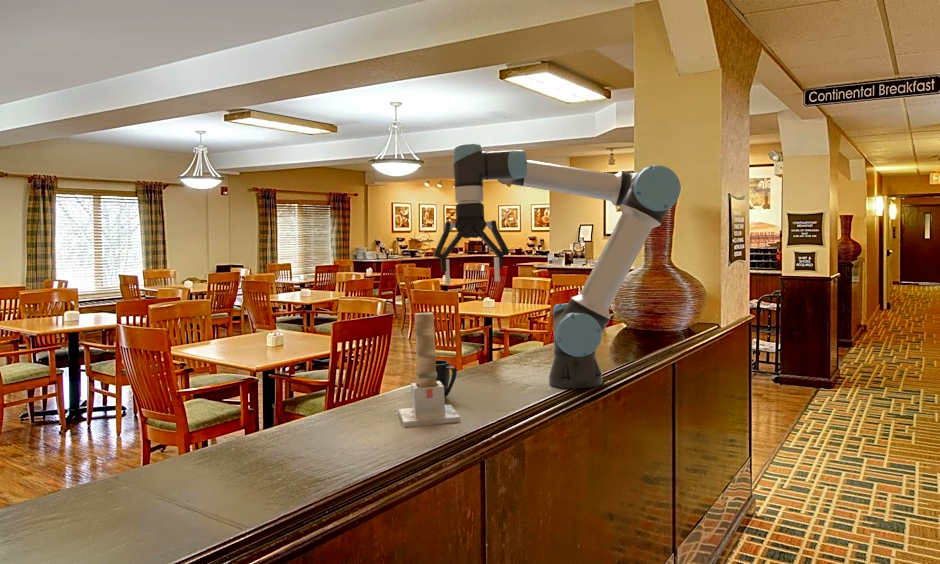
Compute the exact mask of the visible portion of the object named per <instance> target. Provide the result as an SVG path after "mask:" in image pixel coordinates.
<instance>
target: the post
mask: <svg viewBox="0 0 940 564" xmlns="http://www.w3.org/2000/svg"><path fill="white" fill-rule="evenodd" d="M434 316H435V314H434V313H433V312H415V313H414V328H415V330H414V331H415V349H416V351H415V352H416V354H415V355H416V356H415V357H416V371H415V373H416V377H417V382H418V387H430V386H437V381H436V377H437V372H436V360H437V359H436V343H435V342H436V339H435V338H436V337H435V317H434Z"/></svg>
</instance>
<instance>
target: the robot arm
mask: <svg viewBox="0 0 940 564" xmlns="http://www.w3.org/2000/svg"><path fill="white" fill-rule="evenodd" d="M453 174H454V191H455V192H454V195H455V196H454V197H455V202H456V203H457V204H456V205H455V218H456V219H455V222H450V221H446V222H445V223H444V229H443V232H442V235H441V237H440V239H439V240H438V243H437V246H436V248H435V250H434V253H433V256H434V257H435V258H436V259H440V270H441V272H444V276H445V278H444V279H445V284H446V285H451V278H450V277H451V275H450V273H451V272H450V258H449V259H447V258H448V256H449V255H450V254H451V252H452V251H453V250H454V248H455V247H456V246H457V245H458V244H459V242H460V241H461V239H462V238H463V239H470V238H471V239H477V238H480V239H481V241H483V243H484V244H485V245H487V247H488V248H489V249H490V250H491V251H492V252H493V253H494V255H496V256H494V257H493V267H494V268H493V269H494V271H493V272H494V281H495V282H501V278H500V277H501V275H500V273H501V271H500V269H501V270H502V269H503V267H504V262H503V261H504V260H503V259H504V258H503V257H504V256H506V255H509V254H510V250H509V247H508V246H507V244H506V242H505V241H504V239H503V237H502V235H501V233H500V231H499V230H498V225H497V221H496V220H490V221H486V220H485V205H484V204H483V201H484V183H483V182H484V181H493V180H496V181H497V182H498V183H500V184H502V185H505V186H510V185H512V186H519V187H526V188H532V189H537V190H543V191H549V192H555V193H561V194H568V195H572V196H573V195H574V196H580V197H586V198H590V199H591V198H592V199H596V200H602V201H609V202H611V203H612V205H613V206H616V207H620V211H621V215H620V217H619V219H618V221H617V223H616V225H615V227H614V228H613V230H612V233H611V234H610V236H609V237H608V239H607V242H606V244H605V246H603V249H602V251H601V253H600V255H599V257H598V258H597V260H596V262H595V264H594V266H593V268H592V270H591V272H590V274H589V276H588V277H587V279H586V281H585V283H584V285H583V286H582V289H581V291H580V292H579V293H578V294H577V295H574V296H571V297H570V299H569V301H568V302H567V303H557V304H555V305H554V306H553V307H552V318H553V319H552V320H553V321H552V322H553V323H552V324H553V350H554V351H553V352H554V353H553V355H554V357H553V361H552V364H551V368H550V372H549V375H548V383H549V384H548V385H550V386H551V387H555V388H561V389H562V388H563V389H589V388H595V387H598V386H600V385H603V373H602V371H601V369H600V365H599V363H598V359H597V357H596V350H597V349H599V346H600V344H601V342H602V340H603V338H602V337H603V333H604V331H605V329H606V328H607V325H608V324H609V322H610V320H611V315H610V307H611V306H612V303H613V302H614V300H615V298H616V296H617V294H618V293H619V291H620V289H621V287H622V286H623V283H624V281H625V280H626V278H627V275H628V274H629V272H630V270H631V269H632V266H633V265H634V263H635V261H636V259H637V257H638V256H639V254H640V252H641V249H642V248H643V246H644V244H645V243H646V241H647V239H648V237H649V235H650V233H651V232H652V229H654V228H656V227H657V228H658V227H660V226H661V225H662V223H663V221H664V220H665V218H666V216H667V214H668V212H669V210H670V208H672V207H674V205H675V204H676V203H677V202H678V201H679V198H680V196H681V189H682V185H681V181H680V179H679V177H678V175H677V173H675V172H674V170H672V169H671V168H669V167H667V166H665V165H659V164H656V165H655V164H654V165H653V164H651V165H647V166H645V167H643V168H642V169H641V170H640V171H639V172H638V171H637V172H631V171H630V172H628V171H623V170H620V171H619V172H617V173H611V172H610V173H609V172H604V171H597V170H592V169H587V168H586V169H585V168H580V167H579V168H578V167H572V166H567V165H561V164H554V163H549V162H542V161H536V160H529V159H527V152H526V151H525V150H523V149H509V150H492V151H491V150H490V151H484V150H483V149H482V145H480V144H479V143H462V144H458V145H456V146H455V147H454V150H453ZM486 227H488V229H489V230H490V231H491V233H492V235H493V237H494V240H495V241H496V243H497V244H498V246H499V248H498V247H497V245H495V242H493V241H492V240H491V238H490V237H489V236H488V234H487V233H486V232H484V230H485V229H486ZM454 228H455V230H456V231H457V234H456V235H454V238H453V239H452V240H451V242H450V243H449V244H448V245H447V247H446V248H445V249H444V251H443V252H442V250H443V248H444V247H445V244H446V241H447V240H448V237H449V236H450V235H449V234H450V232H451V231H453V229H454Z"/></svg>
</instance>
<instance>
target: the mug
mask: <svg viewBox="0 0 940 564" xmlns="http://www.w3.org/2000/svg"><path fill="white" fill-rule="evenodd" d="M450 370H451V373H450ZM436 372H437V377H436V381H440V382H441V383H442V384H443V386H444V398H446V397H448V395H449V394H450V393H451V391H452V388H453V386H454V384H455V382H456V378H457V374H458V372H457V368H456V367H455V366H450V361H448V360H443V359H442V360H441V359H436ZM450 374H451V378H450Z"/></svg>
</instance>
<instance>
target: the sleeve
mask: <svg viewBox="0 0 940 564" xmlns="http://www.w3.org/2000/svg"><path fill="white" fill-rule="evenodd" d="M410 395H411V399H410V400H411V407H407V408H405V407H404V408H398V416H399V418H400V421H401V423H402V425H403V427H404V428H407V427H410V428H411V427H421V426H429V425H430V426H433V425H441V424H452V423H454V424H455V423H460V422H461V416H460V415H459V414H458V412H457V411H456V409H454V407H453V405H451V404H446V403H445V402H446V401H445V398H446V397H445V398H444V386H443V384H442V383H441V382H440V381H437V386H430V387H418V381H417V382H410Z"/></svg>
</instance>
